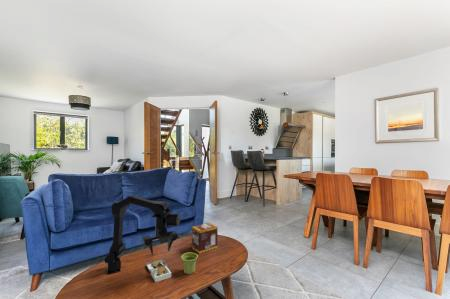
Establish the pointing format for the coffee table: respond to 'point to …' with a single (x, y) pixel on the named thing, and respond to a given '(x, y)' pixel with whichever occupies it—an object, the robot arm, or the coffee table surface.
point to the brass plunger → (155, 263)
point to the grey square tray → (150, 267)
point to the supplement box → (204, 237)
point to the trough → (161, 277)
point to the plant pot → (189, 262)
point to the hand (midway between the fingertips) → (160, 252)
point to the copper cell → (160, 268)
